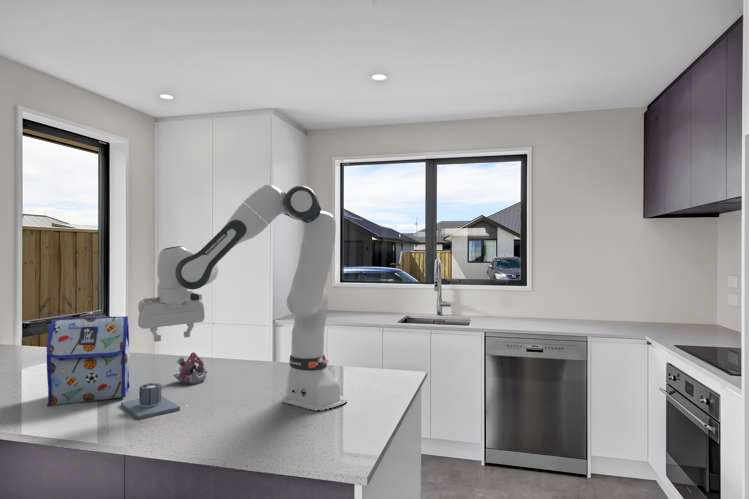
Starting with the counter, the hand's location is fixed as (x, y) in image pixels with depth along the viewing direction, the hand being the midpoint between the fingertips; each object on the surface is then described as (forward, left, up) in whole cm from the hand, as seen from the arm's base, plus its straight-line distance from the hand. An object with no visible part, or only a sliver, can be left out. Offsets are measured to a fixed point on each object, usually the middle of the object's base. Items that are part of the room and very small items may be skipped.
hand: (172, 339), depth 148 cm
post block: (-1, +7, -20) cm, 22 cm away
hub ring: (-1, +7, -19) cm, 20 cm away
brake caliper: (+19, -15, -21) cm, 32 cm away
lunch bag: (+22, +18, -21) cm, 35 cm away
